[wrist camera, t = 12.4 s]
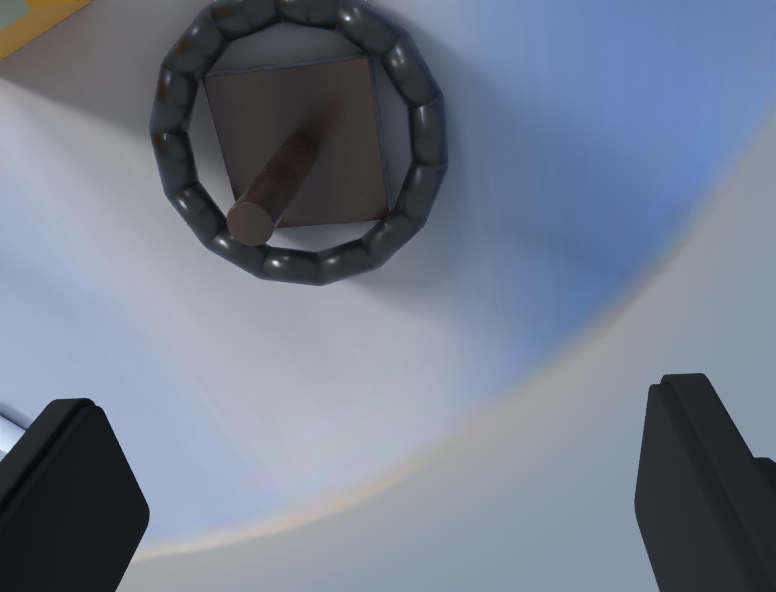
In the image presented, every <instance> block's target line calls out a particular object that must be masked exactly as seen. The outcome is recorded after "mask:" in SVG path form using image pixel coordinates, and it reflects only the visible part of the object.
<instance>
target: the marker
mask: <svg viewBox="0 0 776 592" xmlns="http://www.w3.org/2000/svg"><path fill="white" fill-rule="evenodd" d="M25 432H26V431H25V430H23V429H22V428H20V427H18V426H17V425H15V424H13V423H12V422H10V421H8V420H7V419H5V418H3V417H2V416H0V450H2V451H3V452H5V453H8V452H9V451H10V450H11V449H12V447H13V446H14V445H15V444H16V443H17V441H18V440H19V439H20V438H21V437H22V435H23V434H24V433H25Z"/></svg>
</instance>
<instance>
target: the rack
mask: <svg viewBox="0 0 776 592" xmlns="http://www.w3.org/2000/svg"><path fill="white" fill-rule="evenodd" d="M203 82H204V86H205V90H206V94H207V97H208V101H209V105H210V108H211V112H212V116H213V120H214V123H215V127H216V131H217V135H218V138H219V142H220V146H221V149H222V153H223V157H224V161H225V164H226V168H227V172H228V176H229V179H230V183H231V187H232V190H233V194H234V198H235V202H236V203H235V204H234V205H233V207H232V208H231V209H230V210H229V212H228V215H227V220H226V221H227V227H228V230H229V232H230V233H231V235H232V236H233V237H234V238H235V239H236V240H237V241H239V242H240V243H242V244H245V245H249V246H258V245H261V244H264V243H265V242H267V241H268V240H269V239H270V237H271V236H272V234H273V232H274V231H275V229H276V228H286V227H298V226H311V225H323V224H335V223H347V222H359V221H372V220H381V219H382V218H383V217H384V216H385V215H386V214H387V213H388V212H389V211H390V210H391V201H390V194H389V186H388V178H387V171H386V163H385V156H384V148H383V141H382V133H381V126H380V118H379V110H378V103H377V95H376V88H375V80H374V73H373V65H372V57H371V56H370V55H368V54H359V55H351V56H342V57H334V58H326V59H318V60H309V61H301V62H293V63H285V64H277V65H268V66H260V67H252V68H244V69H235V70H227V71H219V72H212V73H210V74H208V75H206V76H205V77H203Z"/></svg>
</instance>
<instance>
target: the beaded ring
mask: <svg viewBox="0 0 776 592" xmlns="http://www.w3.org/2000/svg"><path fill="white" fill-rule="evenodd" d="M281 24H282V25H289V26H297V27H305V28H312V29H320V30H328V31H335V32H336V33H337V34H339V35H340V36H342V37H343V38H345V39H346V40H348V41H349V42H351V43H352V44H354V45H355V46H357V47H358V48H359V49H361V50H362V51H364V52H365V53H367V54H368V55H370V56H371V57H373V58H374V59H376V60H377V61H378V62H380V64H381V65H382V67H383V69H384V71H385V72H386V74H387V76H388V77H389V79H390V81H391V83H392V84H393V86H394V88H395V89H396V91H397V93H398V95H399V96H400V98H401V100H402V101H403V103H404V105H405V107H406V108H407V115H408V126H409V137H410V148H411V160H412V161H411V164H410V166H409V169H408V172H407V174H406V177H405V180H404V183H403V185H402V188H401V191H400V193H399V196H398V199H397V201H396V204H395V206H394V207H393V208H392V209H391V210H390V211H389V212H388V213H387V214H386V215H385V216H384V217H383V218H382V219H381V220H380V221H379V222H378V223H376V224H375V225H374V226H373V227H372V228H371V229H370V230H369V231H368V232H367V233H366V234H365V235H364V236H363V237H362V238H360V239H357V240H354V241H350V242H347V243H344V244H341V245H338V246H335V247H332V248H329V249H326V250H323V251H320V252H313V251H304V250H296V249H288V248H279V247H271V246H270V245H268V244H266V243H264V244H261V245H258V246H249V245H245V244H242V243H240V242H239V241H237V240H236V239H235V238H234V237H233V236H232V235H231V233H230V232H229V230H228V227H227V221H226V220H227V218H226V217H225V215H224V214H223V213H222V211H221V210H220V208H219V207H218V206H217V204H216V203H215V202H214V200H213V199H212V198H211V196H210V195H209V194H208V192H207V191H206V189H205V188H204V187H203V185H202V184H201V183H200V181H199V177H198V172H197V168H196V163H195V159H194V154H193V150H192V146H191V141H190V137H189V127H190V123H191V118H192V114H193V109H194V105H195V100H196V96H197V91H198V87H199V82H200V81H201V80H202V79H203V77H204V76H205V75H206V74H207V73H208V71H209V70H210V69H211V68H212V67H213V65H214V64H215V63H216V62H217V61H218V59H219V58H220V57H221V56H222V55H223V54H224V52H225V51H226V50H227V49H228V48H229V46H230V45H231V44H232V43H234V42H236V41H239V40H242V39H244V38H247V37H249V36H252V35H255V34H257V33H260V32H262V31H265V30H268V29H270V28H273V27H275V26H278V25H281ZM149 133H150V137H151V141H152V145H153V149H154V153H155V157H156V161H157V165H158V169H159V173H160V177H161V181H162V185H163V189H164V193H165V195H166V197H167V198H168V200H169V201H170V202H171V204H172V205H173V206H174V208H175V209H176V210H177V212H178V213H179V214H180V215H181V217H182V218H183V219H184V221H185V222H186V223H187V225H188V226H189V227H190V229H191V230H192V231H193V232H194V234H195V235H196V236H197V238H198V239H199V240H200V242H201V243H202V244H203V245H204V246H205V247H206V248H207V249H208V250H210V251H212V252H214V253H215V254H217V255H219V256H221V257H222V258H224V259H226V260H228V261H229V262H231V263H233V264H235V265H236V266H238V267H240V268H241V269H243V270H245V271H247V272H248V273H250V274H252V275H254V276H255V277H257V278H259V279H263V280H271V281H279V282H287V283H296V284H304V285H313V286H324V285H327V284H331V283H334V282H337V281H340V280H343V279H347V278H350V277H353V276H356V275H359V274H362V273H366V272H369V271H372V270H375V269H378V268H379V267H381V266H382V265H383V264H384V263H385V262H386V261H388V260H389V259H390V258H391V257H392V256H393V255H394V254H395V253H396V252H397V251H398V250H399V249H400V248H402V247H403V246H404V245H405V244H406V243H407V242H408V241H409V240H410V239H411V238H412V237H413V236H415V235H416V234H417V233H418V232H419V231H420V230H421V229H422V228H423V227H424V225H425V224H426V221H427V219H428V216H429V214H430V211H431V209H432V206H433V204H434V201H435V199H436V196H437V194H438V191H439V189H440V186H441V184H442V181H443V178H444V176H445V173H446V171H447V168H448V150H447V135H446V120H445V105H444V97H443V94H442V92H441V90H440V88H439V86H438V85H437V83H436V81H435V79H434V77H433V76H432V74H431V72H430V70H429V68H428V67H427V65H426V63H425V61H424V59H423V58H422V56H421V54H420V52H419V50H418V49H417V47H416V45H415V43H414V41H413V40H412V38H411V36H410V35H409V33H408V32H407V31H406V30H405V29H403V28H402V27H400V26H399V25H398V24H396V23H395V22H393V21H392V20H390V19H389V18H388V17H386V16H385V15H383V14H382V13H380V12H379V11H378V10H376V9H375V8H373V7H372V6H370V5H369V4H368V3H366V2H365V1H363V0H220V1H217V2H215V3H212V4H210V5H208V6H206V7H205V8H204V9H203V10H202V12H201V13H200V14H199V15H198V17H197V18H196V19H195V20H194V22H193V23H192V24H191V25H190V26H189V28H188V29H187V30H186V31H185V33H184V34H183V35H182V36H181V38H180V39H179V40H178V41H177V43H176V44H175V45H174V46H173V48H172V49H171V50H170V51H169V53H168V54H167V55H166V56H165V58H164V59H163V61H162V64H161V68H160V73H159V78H158V83H157V88H156V93H155V98H154V103H153V108H152V114H151V119H150V124H149Z"/></svg>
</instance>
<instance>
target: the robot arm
mask: <svg viewBox="0 0 776 592" xmlns="http://www.w3.org/2000/svg"><path fill="white" fill-rule="evenodd" d="M634 503H635V514H636V519H637V522H638V526H639V529H640V532H641V535H642V538H643V541H644V544H645V547H646V550H647V553H648V557H649V560H650V563H651V566H652V569H653V572H654V575H655V578H656V581H657V584H658V587H659V590H660V592H776V463H775V462H774V461H773V460H771V459H770V458H762V457H760V458H754V457H753V455H752V453H751V452H750V450H749V448H748V447H747V445H746V443H745V441H744V440H743V438H742V436H741V435H740V433H739V431H738V429H737V428H736V426H735V424H734V422H733V421H732V419H731V417H730V416H729V414H728V412H727V411H726V409H725V407H724V405H723V403H722V402H721V400H720V398H719V397H718V395H717V393H716V392H715V390H714V388H713V386H712V385H711V383H710V381H709V380H708V378H707V377H706V376H705V375H704V374H702V373H696V374H695V373H694V374H669V375H664V376H663V377H662V379H661V383H660V384H653V385H651V386H650V388H649V393H648V401H647V408H646V416H645V423H644V431H643V439H642V446H641V454H640V461H639V469H638V476H637V484H636V492H635V501H634ZM149 516H150V512H149V507H148V504H147V502H146V500H145V498H144V496H143V493H142V491H141V489H140V487H139V485H138V483H137V481H136V479H135V476H134V474H133V472H132V470H131V468H130V466H129V464H128V462H127V459H126V457H125V455H124V453H123V451H122V449H121V447H120V445H119V442H118V440H117V438H116V436H115V434H114V432H113V430H112V428H111V425H110V423H109V421H108V419H107V417H106V415H105V413H104V411H103V409H102V408H101V407H99V406H96V405H95V404H94V402H93V401H92V400H90V399H87V398H76V399H56V400H54V401H52V402H50V403H49V404H48V405H47V406H46V408H45V409H44V410H43V411H42V412H41V414H40V415H39V416H38V417H37V418H36V420H35V421H34V422H33V423H32V424H31V426H30V427H29V428H28V429H27V430H26V432H25V433H24V434H23V435H22V437H21V438H20V439H19V440H18V441H17V443H16V444H15V445H14V446H13V447H12V449H11V450H10V451H9V452H8V453H7V455H6V456H5V457H4V458H3V459H2V461H1V462H0V592H115V591H116V589H117V587H118V585H119V583H120V581H121V579H122V577H123V575H124V573H125V571H126V569H127V567H128V565H129V563H130V561H131V559H132V557H133V555H134V553H135V551H136V549H137V547H138V545H139V543H140V541H141V539H142V537H143V535H144V533H145V531H146V528H147V526H148V523H149Z"/></svg>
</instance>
